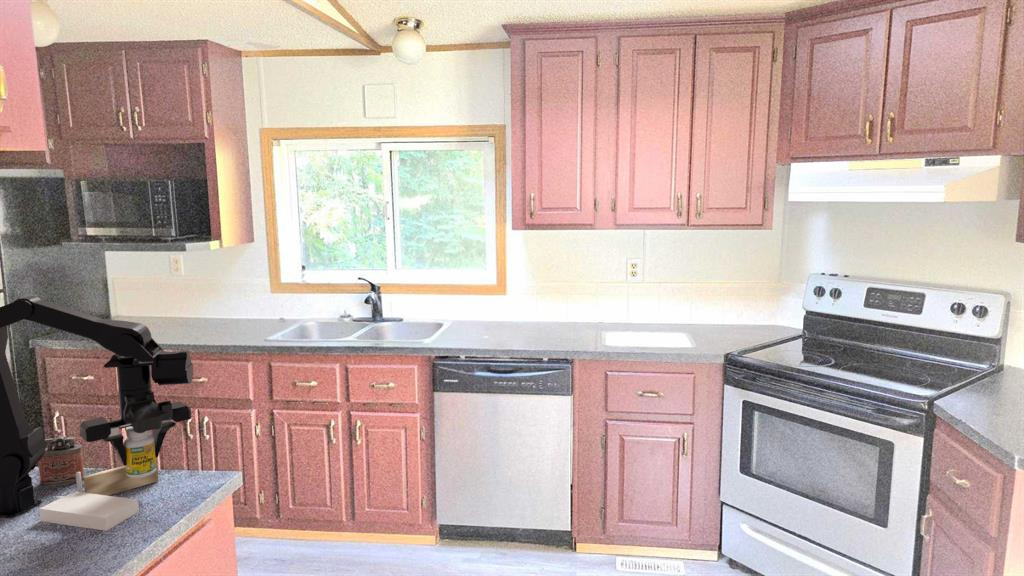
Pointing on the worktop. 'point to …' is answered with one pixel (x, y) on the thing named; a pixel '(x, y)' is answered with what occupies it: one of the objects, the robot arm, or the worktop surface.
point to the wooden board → (115, 481)
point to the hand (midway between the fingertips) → (140, 460)
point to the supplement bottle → (139, 454)
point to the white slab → (89, 509)
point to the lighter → (60, 462)
